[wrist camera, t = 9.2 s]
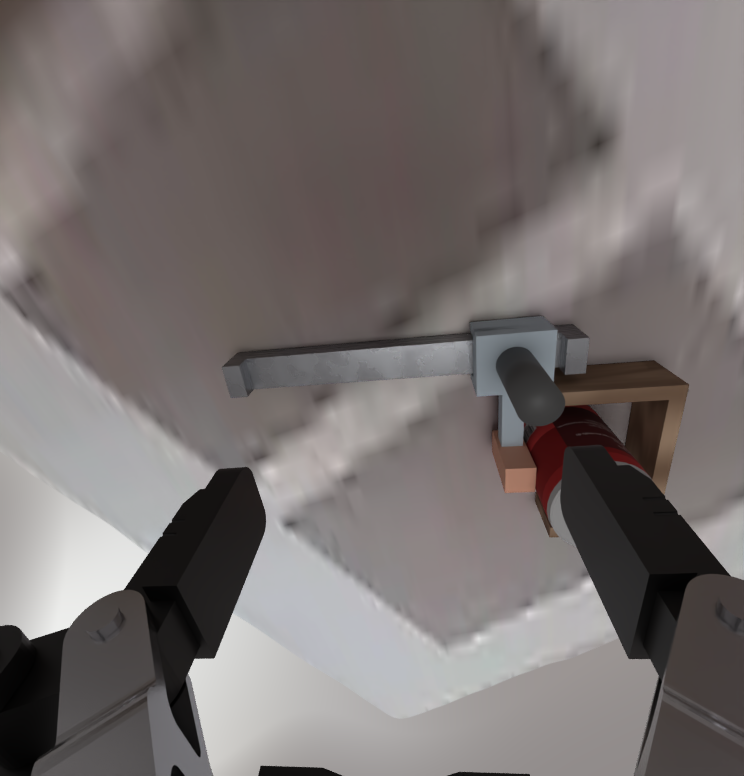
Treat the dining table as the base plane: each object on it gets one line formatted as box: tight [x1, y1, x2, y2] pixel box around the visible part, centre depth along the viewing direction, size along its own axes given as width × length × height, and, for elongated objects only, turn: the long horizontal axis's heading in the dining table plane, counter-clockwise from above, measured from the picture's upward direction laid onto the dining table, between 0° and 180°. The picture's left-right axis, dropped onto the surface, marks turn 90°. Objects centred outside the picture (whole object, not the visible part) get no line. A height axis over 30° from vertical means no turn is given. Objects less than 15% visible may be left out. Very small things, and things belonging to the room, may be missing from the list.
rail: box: [222, 324, 590, 398], centre depth 36 cm, size 3×30×4 cm, turn 97°
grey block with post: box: [470, 316, 565, 493], centre depth 32 cm, size 13×6×11 cm, turn 7°
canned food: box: [523, 405, 653, 547], centre depth 34 cm, size 8×8×11 cm
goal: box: [535, 361, 689, 537], centre depth 37 cm, size 15×9×5 cm, turn 7°
